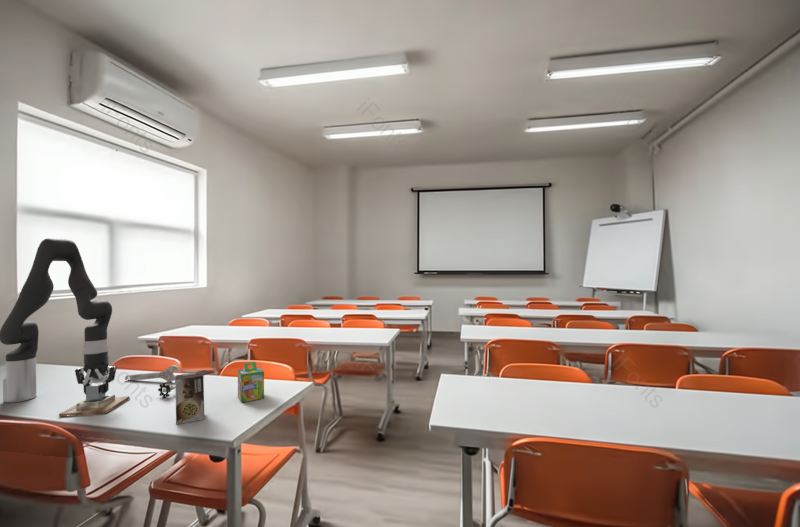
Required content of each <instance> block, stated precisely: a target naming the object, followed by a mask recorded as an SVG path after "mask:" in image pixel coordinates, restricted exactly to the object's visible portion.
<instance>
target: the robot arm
mask: <svg viewBox="0 0 800 527" xmlns="http://www.w3.org/2000/svg"><path fill="white" fill-rule="evenodd" d="M53 262H66V263H67V264H68V266H69V268H70V272H69V276H68V280H67V283H68V287H69V289H70V291H71V292H72V294H73V296H74V298H75V300H76V307H77V313H78V316H79V317H80V318H82V319H83V320H87V321H90V320H95V321H94V323H93V324H91V325H90V324H89V325H87V326H86V327H85V328H84V332H83V333H84V343H83V364H84V365H83V367H79V368H76V369H75V370H74V373H75V378H76V382H77V384H78V385H83V393H84V395H85V396H86V386H88V385H90V384H91V382H92V379H93V377H99V379H98V380H100V381H101V383H103V384H102V394H103V393H105V394H107V392H108V391H109V389H110V388H109V383H112V382H114V380H115V377H116V373H117V368H118V367H117V366H116V365H114V366H112V365H111V366H110V365H108V364H109V345H108V344H109V343H108V327H109V323H110V320H111V318H112V313H113V307H112V304H111V303H110V302H109V301H108V300H98V301H97V300H95V301H92V300H93V299H95V298H96V297H97V296H98V291H97V289H96V286H94V284H93V282H92V281H91V279H90V277H89V276H88V274H87V270H86V268H85V265H84V262H83V259H82V255H81V253H80V251H79V247H78V246H77V244H76V242H74V241H73V240H71V239H67V238H51V237H50V238H49V237H48V238H45V239H43V240H42V241H41V242H40V243H39V245H38V246H37V250H36V253H35V256H34V260H33V262H32V266H31V269H30V271H29V273H28V275H27V278H26V280H25V282H24V284H23V286H22V288H21V290H20V292H19V295H18V297H17V300H16V302H15V304H14V306H13V308H12V310H11V312H10V313H9V314H8V316H7V318H6V319H5V321H4V322H3V324H2V326H1V328H0V343H1V344H3V345H6V346H9V345H10V346H11V345H19V346H18V347H17V348H15V349H14V350H12V351H10V352H8V353H6V355H5V378H4V379H2V403H3V402H4V403H18V402H24V401H28V400H31V399H34V398H36V397H37V353H38V348H39V346H38V345H39V334H40V333H39V326H38V324H37V322H36V321H34V320H28V318H29V317H31V316H32V315H33V314H34V313H36V312H37V311H39V310H40V309H41V308H43V307H44V306H45V305H46V304H47V303H48V301H49V300H50V297H51V295H52V293H53V291H54V282H53V280H52V278H51V276H50V273H49V268H50V266H51V264H52V263H53ZM107 362H108V363H107ZM107 369H108V372H109V374H108V375H107V373H106V371H107ZM84 372H85V374H84Z"/></svg>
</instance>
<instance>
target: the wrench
mask: <svg viewBox="0 0 800 527" xmlns="http://www.w3.org/2000/svg"><path fill="white" fill-rule="evenodd" d="M174 371H175V372H180V371H181V368H180V366H178V365H176V364H174V365H170V366H169V367H167V368H165V369H163V370H162V371H156V372H145V373H143V372H142V373H133V374H128V375H125V376H124V377H125V378H124V380H125V381H126V380H127V379H129V380H136V381H143V380H152V379H163V380H164V381H166V383H171V382H173V381H174V382H175V378H176V375H174Z"/></svg>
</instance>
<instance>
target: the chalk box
mask: <svg viewBox="0 0 800 527" xmlns="http://www.w3.org/2000/svg"><path fill="white" fill-rule="evenodd" d="M249 366H252V367H250V368H249ZM243 367H244V368H243V369H238V370H237V398H238V400H239V401H240V402H241V403H247V402H252V401H257V400H263V399H265V371H264V370H263V369H262V368H260V367H258V366H257V362H256V361H249V362H245V363H244V366H243Z"/></svg>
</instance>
